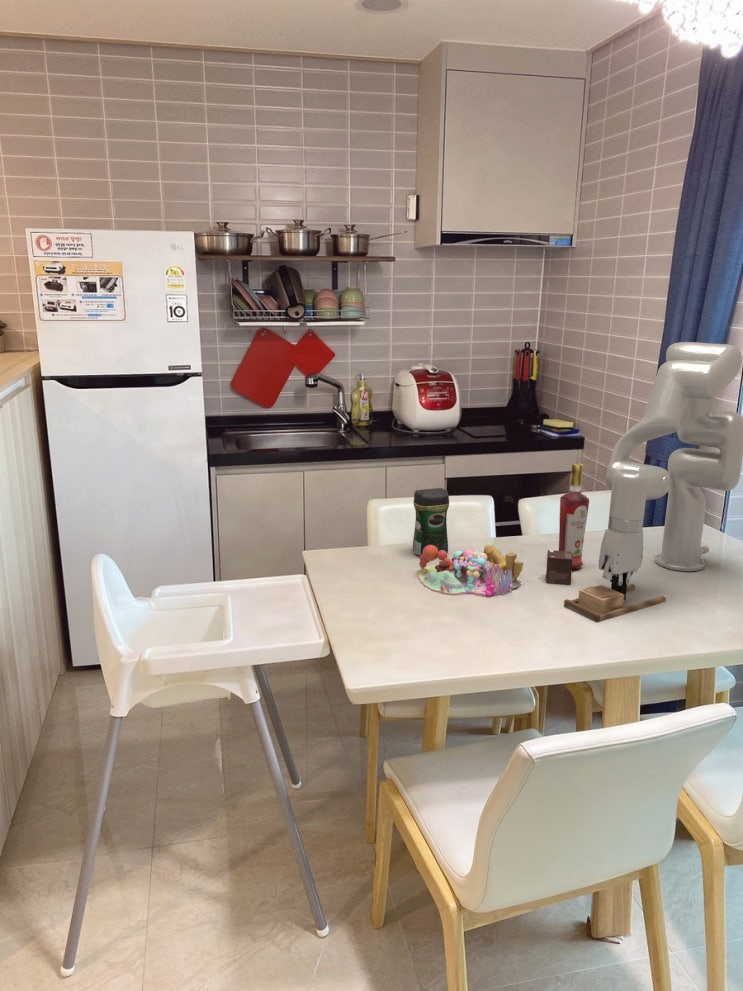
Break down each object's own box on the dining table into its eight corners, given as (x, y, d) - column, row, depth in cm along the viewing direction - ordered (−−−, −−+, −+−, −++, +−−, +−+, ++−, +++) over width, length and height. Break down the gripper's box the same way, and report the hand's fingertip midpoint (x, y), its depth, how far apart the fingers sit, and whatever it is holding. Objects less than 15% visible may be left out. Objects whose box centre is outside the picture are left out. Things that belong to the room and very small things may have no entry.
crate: (599, 600, 181) (600, 583, 180) (622, 610, 176) (624, 593, 174) (577, 606, 178) (579, 589, 177) (601, 617, 172) (602, 599, 171)
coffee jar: (439, 547, 218) (442, 484, 213) (451, 556, 211) (454, 491, 206) (408, 551, 215) (409, 486, 210) (419, 560, 208) (421, 494, 203)
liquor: (573, 561, 208) (581, 460, 201) (588, 570, 202) (598, 466, 194) (549, 563, 206) (557, 462, 199) (564, 573, 199) (573, 468, 192)
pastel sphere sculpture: (483, 560, 210) (485, 527, 207) (538, 589, 189) (541, 554, 187) (403, 574, 199) (404, 540, 196) (452, 607, 178) (454, 569, 176)
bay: (631, 589, 189) (632, 581, 189) (665, 603, 181) (666, 595, 180) (563, 608, 178) (564, 600, 177) (596, 623, 169) (597, 615, 169)
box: (570, 587, 190) (573, 559, 188) (545, 585, 192) (547, 557, 190) (569, 578, 196) (571, 551, 194) (545, 576, 197) (547, 549, 195)
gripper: (634, 515, 181) (626, 587, 186) (589, 524, 174) (582, 599, 178) (660, 523, 175) (652, 598, 180) (615, 533, 168) (608, 611, 172)
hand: (617, 598), depth 179 cm, fingers closed
